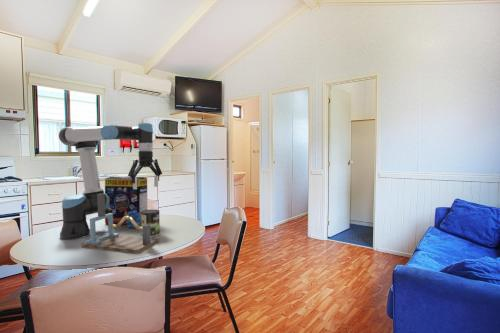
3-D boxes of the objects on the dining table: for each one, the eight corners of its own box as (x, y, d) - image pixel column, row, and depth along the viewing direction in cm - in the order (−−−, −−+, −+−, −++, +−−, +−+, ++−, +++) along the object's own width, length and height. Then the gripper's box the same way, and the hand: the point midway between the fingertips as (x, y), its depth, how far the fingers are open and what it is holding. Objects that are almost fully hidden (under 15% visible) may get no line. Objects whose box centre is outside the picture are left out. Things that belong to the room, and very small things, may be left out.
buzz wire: (108, 241, 151) (107, 215, 150) (112, 239, 154) (111, 214, 153) (147, 245, 145) (146, 218, 144) (150, 243, 148) (149, 217, 147)
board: (81, 247, 147) (81, 244, 147) (107, 236, 164) (107, 234, 164) (137, 253, 138) (137, 250, 137) (158, 241, 155) (158, 238, 155)
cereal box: (148, 221, 199) (148, 176, 198) (139, 225, 187) (139, 177, 187) (114, 220, 203) (113, 176, 202) (103, 224, 192) (102, 177, 191)
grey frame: (85, 243, 148) (83, 195, 146) (106, 235, 162) (105, 191, 161) (97, 244, 146) (96, 196, 144) (118, 236, 160) (117, 192, 158)
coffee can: (163, 232, 172) (162, 209, 171) (154, 237, 162) (153, 213, 161) (147, 231, 174) (147, 209, 173) (137, 236, 164) (137, 212, 163)
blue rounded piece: (146, 227, 183) (145, 209, 182) (139, 230, 176) (138, 211, 176) (130, 226, 186) (130, 208, 185) (123, 229, 179) (123, 210, 179)
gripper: (128, 150, 148) (128, 191, 149) (168, 150, 168) (168, 186, 169) (120, 150, 152) (121, 189, 154) (160, 150, 172) (160, 185, 174)
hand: (145, 187), depth 162 cm, fingers open, 13 cm apart
